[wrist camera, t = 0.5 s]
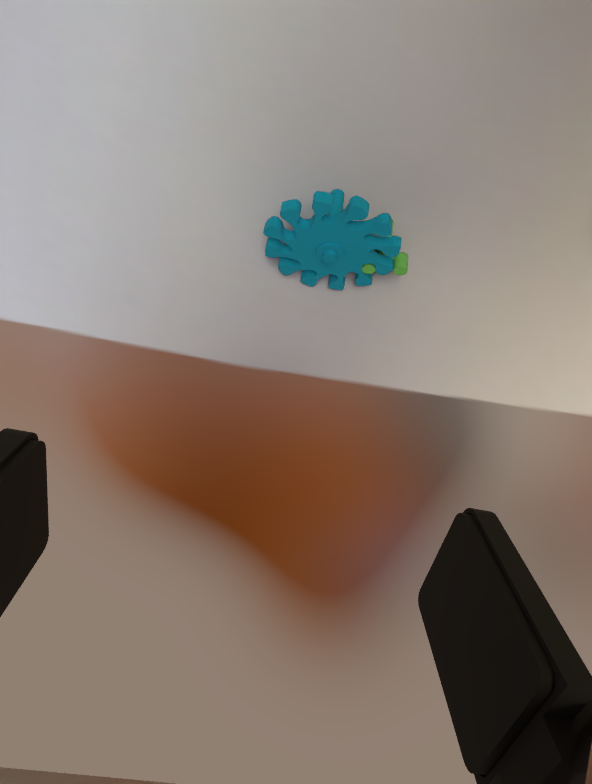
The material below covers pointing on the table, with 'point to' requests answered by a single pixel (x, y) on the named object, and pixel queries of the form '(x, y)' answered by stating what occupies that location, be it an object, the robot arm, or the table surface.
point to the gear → (334, 241)
